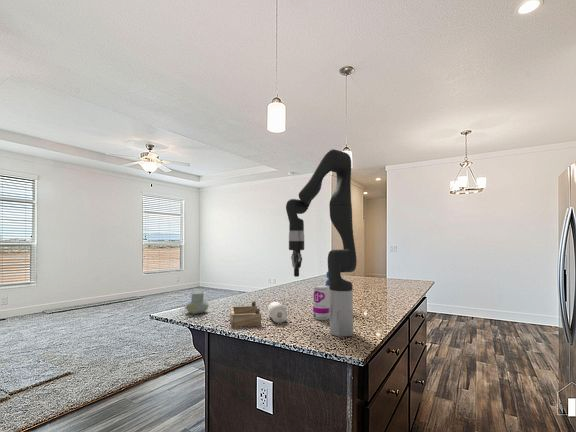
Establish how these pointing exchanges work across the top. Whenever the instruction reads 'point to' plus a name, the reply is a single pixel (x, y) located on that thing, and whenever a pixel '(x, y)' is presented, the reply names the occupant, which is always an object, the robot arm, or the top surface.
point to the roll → (277, 312)
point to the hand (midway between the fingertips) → (296, 276)
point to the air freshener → (197, 304)
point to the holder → (245, 315)
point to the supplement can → (321, 302)
